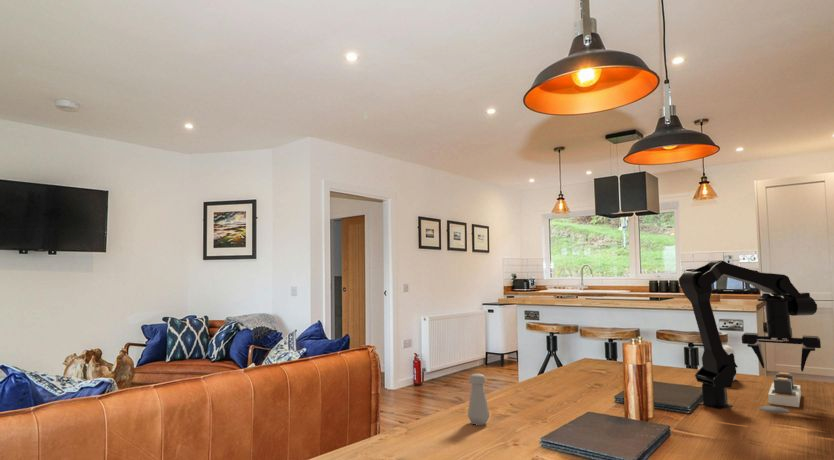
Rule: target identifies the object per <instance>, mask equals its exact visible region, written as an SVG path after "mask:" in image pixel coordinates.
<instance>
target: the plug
mask: <svg viewBox="0 0 834 460" xmlns="http://www.w3.org/2000/svg"><path fill="white" fill-rule="evenodd" d="M773 383H774V389H775V393H777V394H786V395H792V396H793V392H792V381H791V379H788V378H780V377H778V378H776V377H774V378H773Z"/></svg>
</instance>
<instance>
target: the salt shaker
mask: <svg viewBox="0 0 834 460" xmlns="http://www.w3.org/2000/svg"><path fill="white" fill-rule="evenodd" d="M468 378H469V383H470V384H471V387H470V388H471V389H470V394H469V403H468V411H467V416H468V419H469V421H470V423H471V424H477V425H481V426H484V425H483V424H485V425H486V424H487V423H488V420H489V418H490V411H489V406H488V400H487V396H486V392H485V386H484V384H485V383H486V377H485V375H484V374H482V373H472V374H470V375H469V377H468ZM486 422H487V423H486ZM477 425H476V426H477Z"/></svg>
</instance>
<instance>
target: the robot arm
mask: <svg viewBox="0 0 834 460" xmlns="http://www.w3.org/2000/svg"><path fill="white" fill-rule="evenodd" d="M721 277H726V278H727V279H728V278H729V279H733V280H736V281H739V282H743V283H745V284H746V283H747V284H749V285H751V286H753V287H754V288H755V289H757V290H759V291H761V292H763V293H762V295H760V296H759V298H757V302H764V303H765V305H764V306H765V317H766V318H765V319H766V322H765V321H764V322H762V328H763V329H762V330H763V333H764V334H767V335H759V333H758V332H744V333H743V334H742V335H741V343H742V344H744V345H747V348H751V349H752V351H753V352H754V353H755V355H756V357H757V359H758V362H759V363H760V365H761V367H762V369H765V368H766V367H765V360H764V356H763V351H762V344H761V343H771V344H789V345H791V344H792V345H802V347H801V360H800V372H804V369H805V365H806V363H807V361H808V357H809V355H810V353H811V352H816V349H821V348H822V345H821V338H820V337H819V336H817V335H806V334H805V335H804V334H803V335H802V337H793V328H792V326H791V317H794V316H796V317H797V316H798V317H799V316H813V315H815V314H816V313H817V311H818V305H817V304H818V303H816V301H815V299H814V298H813V297H811V292H800V291H799V290H798V289H797V288H796V287H795V285H794V284H793V283H792V281H791V279H790V277H789V276H788V275H786V274H782V273H773V272H772V273H771V272H759V271H756V270H753V269H750V268H746V267H743V266H740V265H737V264H733V263H729V262H726V261H724V260H711V261H709V262H708V263H706V264H705V265H702V266H700V267H698V268H695V269H693V270H691V271H686V272H684V273H682V274H681V275H680V277H679V278H678V284H679V287H680V288H681V290H682V293H683V294H684V296H685V297H686V298H687V300H689V301H690V304H691V307H692V311H693V313H694V317H695V322H696V324H697V328H698V331H699V332H698V333H699V336H700V339H701V342H702V347H703V352H702V356H701V362H702V366H701V368H700V369H699V370H698V371H697V372H696V373H695V374H694V376H695V378H696V379H695V380H696V381H697V382H698V383H700V384H701V383H702V384H701V390H702V402H698V403H697V405H700V406H703V407H704V406H705V407H707V408H712V409H716V410H722V409H726V408H731V407H733V404H729V403H728V393H727V392H728V391H727V388H728V389H729V388H732V385H733V382H734V381H733V379H734V376H735V375H736V376H737V368H738V367H739V366H738V365H737V363H736V358H735V359H734V356H735V354H734V355H733V353H729V352H726V351H725V350H724V349H723V346H722V345H723V343H722V339H721V337H720V333H719V329H718V324H717V323H716V322H717V321H716V319H715V318H716V317H715V314H714V311H713V307H712V304H711V297H712V293H713V287H712V285H713V284H715V283H716V282H717V281H719V279H720V278H721Z"/></svg>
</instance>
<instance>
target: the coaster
mask: <svg viewBox="0 0 834 460" xmlns="http://www.w3.org/2000/svg"><path fill="white" fill-rule="evenodd" d="M758 408H759V410H760V411H763V412H766V413H772V414H789V413H791V411H790V410H789V409H787V408H784V407H779V406H773V405H772V406H771V405H770V406H769V405H763V406H759V407H758Z"/></svg>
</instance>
